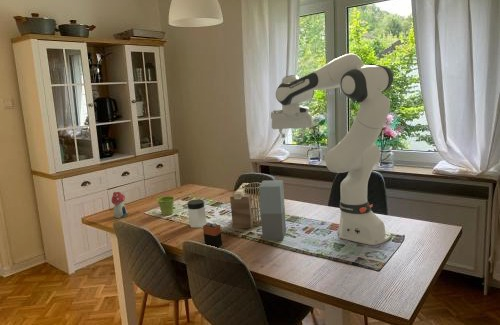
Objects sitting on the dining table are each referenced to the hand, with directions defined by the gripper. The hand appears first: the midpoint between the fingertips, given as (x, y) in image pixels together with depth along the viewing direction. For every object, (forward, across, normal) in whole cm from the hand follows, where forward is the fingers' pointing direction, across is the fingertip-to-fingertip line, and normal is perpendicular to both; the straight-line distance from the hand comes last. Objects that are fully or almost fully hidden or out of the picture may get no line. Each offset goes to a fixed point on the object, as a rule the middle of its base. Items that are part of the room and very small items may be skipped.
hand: (292, 137), depth 193 cm
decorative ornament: (+39, -96, -8) cm, 104 cm away
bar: (+24, -24, -17) cm, 38 cm away
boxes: (+39, -15, -24) cm, 48 cm away
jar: (+39, -47, -19) cm, 64 cm away
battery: (+39, -32, -42) cm, 66 cm away
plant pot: (+39, -71, -3) cm, 81 cm away
